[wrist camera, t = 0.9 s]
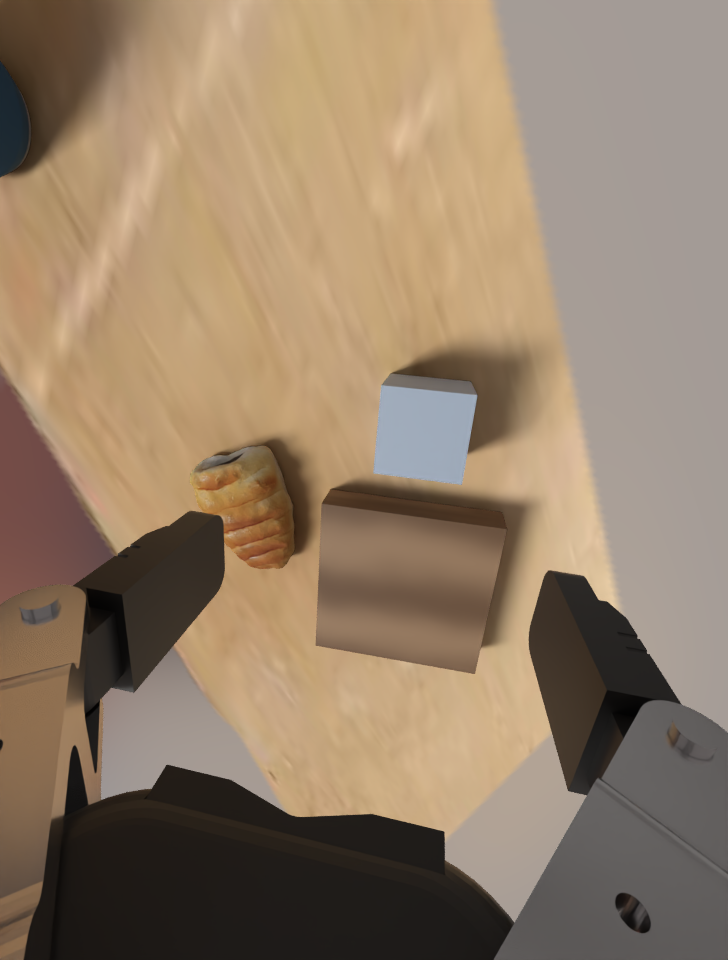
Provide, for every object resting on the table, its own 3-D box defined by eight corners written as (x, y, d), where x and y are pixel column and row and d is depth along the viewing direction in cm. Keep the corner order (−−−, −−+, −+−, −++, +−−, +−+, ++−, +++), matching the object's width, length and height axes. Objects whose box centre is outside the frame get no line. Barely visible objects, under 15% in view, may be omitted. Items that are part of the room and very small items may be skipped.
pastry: (320, 548, 33) (305, 576, 30) (245, 566, 35) (223, 594, 31) (272, 435, 30) (249, 451, 27) (193, 460, 32) (162, 479, 29)
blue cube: (391, 373, 27) (381, 385, 23) (470, 381, 27) (477, 395, 22) (383, 448, 29) (373, 473, 25) (458, 457, 29) (461, 484, 24)
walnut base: (332, 486, 31) (321, 503, 29) (500, 509, 30) (507, 529, 27) (325, 619, 36) (315, 645, 33) (471, 644, 34) (474, 674, 32)
